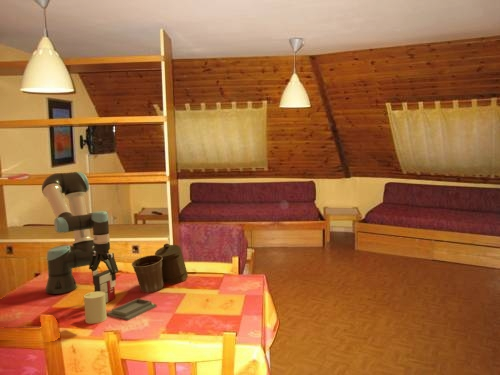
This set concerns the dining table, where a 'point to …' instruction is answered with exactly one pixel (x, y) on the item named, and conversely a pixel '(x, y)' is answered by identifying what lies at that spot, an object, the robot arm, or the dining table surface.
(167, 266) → the wooden container
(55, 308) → the dining table surface
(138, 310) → the tray
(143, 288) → the plant pot
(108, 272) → the red and grey box
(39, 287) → the dining table surface
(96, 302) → the can
